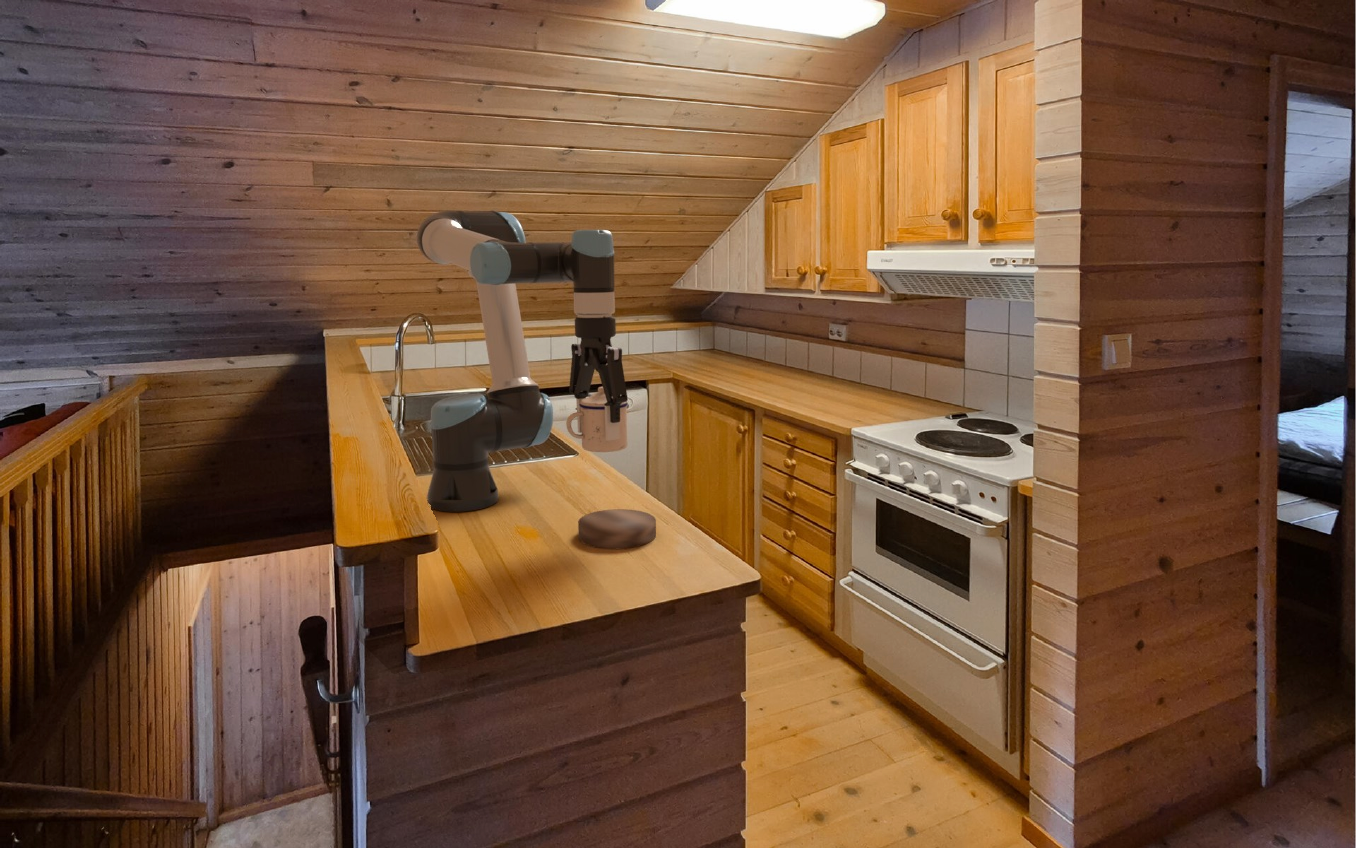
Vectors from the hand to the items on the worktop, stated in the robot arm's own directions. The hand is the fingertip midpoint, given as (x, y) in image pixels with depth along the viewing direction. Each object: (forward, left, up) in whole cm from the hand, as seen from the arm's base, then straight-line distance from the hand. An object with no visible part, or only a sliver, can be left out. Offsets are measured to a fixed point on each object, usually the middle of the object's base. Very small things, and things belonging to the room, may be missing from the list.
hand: (598, 435), depth 161 cm
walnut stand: (+3, -2, -20) cm, 20 cm away
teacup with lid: (0, 0, -3) cm, 3 cm away
